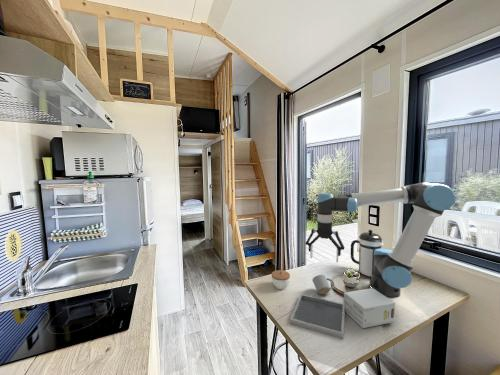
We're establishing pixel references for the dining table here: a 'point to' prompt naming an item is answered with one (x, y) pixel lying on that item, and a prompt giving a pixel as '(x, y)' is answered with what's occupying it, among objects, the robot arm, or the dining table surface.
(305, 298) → the square tray
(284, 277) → the lidded jar
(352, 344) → the dining table surface
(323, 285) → the ceramic mug
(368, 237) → the coffee press
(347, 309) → the supplement box
